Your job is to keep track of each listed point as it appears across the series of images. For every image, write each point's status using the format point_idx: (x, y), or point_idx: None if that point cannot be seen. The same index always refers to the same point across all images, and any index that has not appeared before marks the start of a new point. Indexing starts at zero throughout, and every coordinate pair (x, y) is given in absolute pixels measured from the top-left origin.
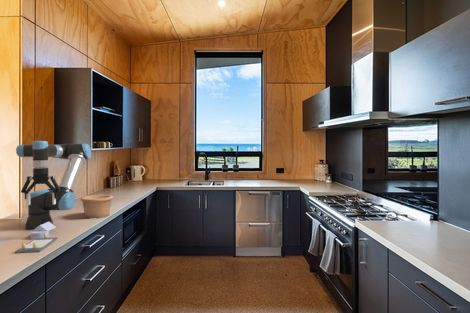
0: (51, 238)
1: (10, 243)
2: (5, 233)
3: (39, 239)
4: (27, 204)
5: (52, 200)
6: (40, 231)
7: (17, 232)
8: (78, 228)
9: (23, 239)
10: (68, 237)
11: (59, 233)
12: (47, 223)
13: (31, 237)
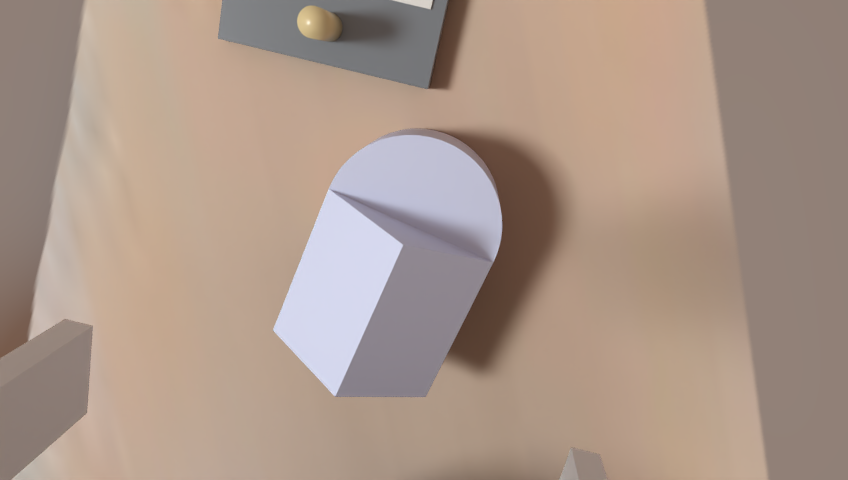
0: (269, 14)
1: (656, 58)
2: (758, 472)
3: (383, 21)
4: (586, 463)
5: (25, 369)
6: (400, 202)
7: (655, 463)
8: (124, 379)
9: (556, 169)
10: (135, 65)
11: (258, 263)
12: (343, 343)
13: (483, 162)
